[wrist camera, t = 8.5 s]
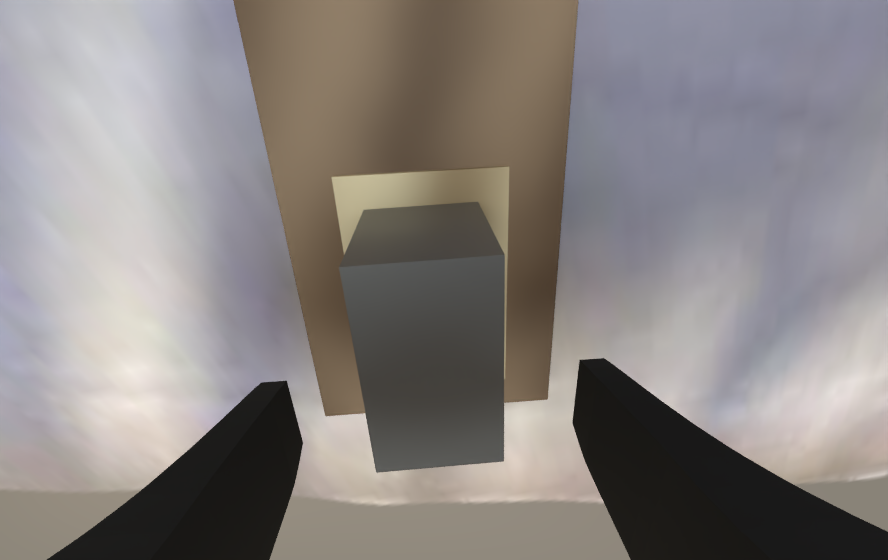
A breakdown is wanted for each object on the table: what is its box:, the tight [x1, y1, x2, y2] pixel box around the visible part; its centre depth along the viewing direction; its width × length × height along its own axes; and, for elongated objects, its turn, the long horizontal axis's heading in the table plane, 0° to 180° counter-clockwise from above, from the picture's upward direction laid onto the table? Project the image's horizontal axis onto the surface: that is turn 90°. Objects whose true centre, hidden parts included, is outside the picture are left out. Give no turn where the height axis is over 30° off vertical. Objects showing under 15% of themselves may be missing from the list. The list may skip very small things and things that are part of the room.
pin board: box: [233, 0, 578, 416], centre depth 14 cm, size 10×20×3 cm, turn 3°
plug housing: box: [339, 202, 505, 472], centre depth 14 cm, size 4×7×5 cm, turn 3°
